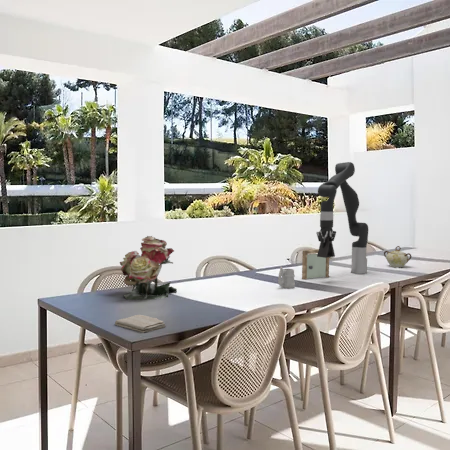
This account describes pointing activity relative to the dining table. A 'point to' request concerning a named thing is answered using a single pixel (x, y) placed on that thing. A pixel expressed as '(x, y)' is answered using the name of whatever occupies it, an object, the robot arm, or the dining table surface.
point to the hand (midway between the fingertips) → (326, 248)
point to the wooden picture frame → (304, 263)
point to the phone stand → (326, 249)
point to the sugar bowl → (397, 258)
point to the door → (315, 266)
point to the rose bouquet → (146, 270)
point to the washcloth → (141, 323)
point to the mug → (286, 278)
